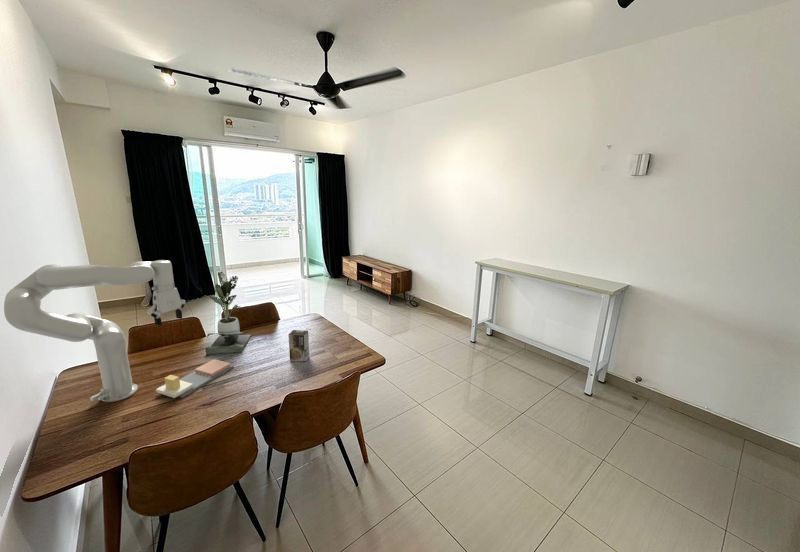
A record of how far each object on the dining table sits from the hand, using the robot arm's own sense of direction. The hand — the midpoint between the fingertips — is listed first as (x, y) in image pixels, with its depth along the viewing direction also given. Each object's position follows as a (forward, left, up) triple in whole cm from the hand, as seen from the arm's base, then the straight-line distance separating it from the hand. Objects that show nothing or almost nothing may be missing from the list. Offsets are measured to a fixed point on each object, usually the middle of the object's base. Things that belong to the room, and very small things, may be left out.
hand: (169, 321), depth 149 cm
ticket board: (+2, -13, -28) cm, 31 cm away
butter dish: (-10, -13, -27) cm, 32 cm away
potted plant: (+35, +3, -29) cm, 45 cm away
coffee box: (+37, -45, -28) cm, 65 cm away
